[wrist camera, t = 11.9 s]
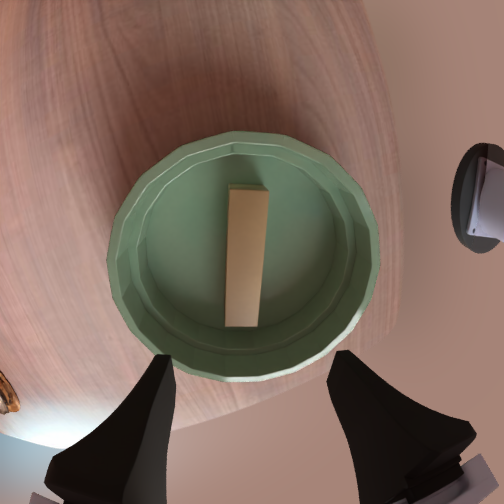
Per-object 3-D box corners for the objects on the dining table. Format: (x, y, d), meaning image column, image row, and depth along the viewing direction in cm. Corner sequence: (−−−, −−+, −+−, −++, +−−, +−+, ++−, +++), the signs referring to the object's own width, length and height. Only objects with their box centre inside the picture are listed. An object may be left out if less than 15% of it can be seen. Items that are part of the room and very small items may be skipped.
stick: (264, 184, 17) (269, 190, 15) (254, 309, 20) (257, 327, 18) (228, 183, 17) (229, 188, 15) (224, 309, 20) (224, 327, 18)
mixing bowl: (359, 148, 17) (400, 153, 13) (326, 333, 23) (346, 373, 18) (130, 135, 16) (98, 134, 11) (145, 333, 21) (131, 377, 17)
